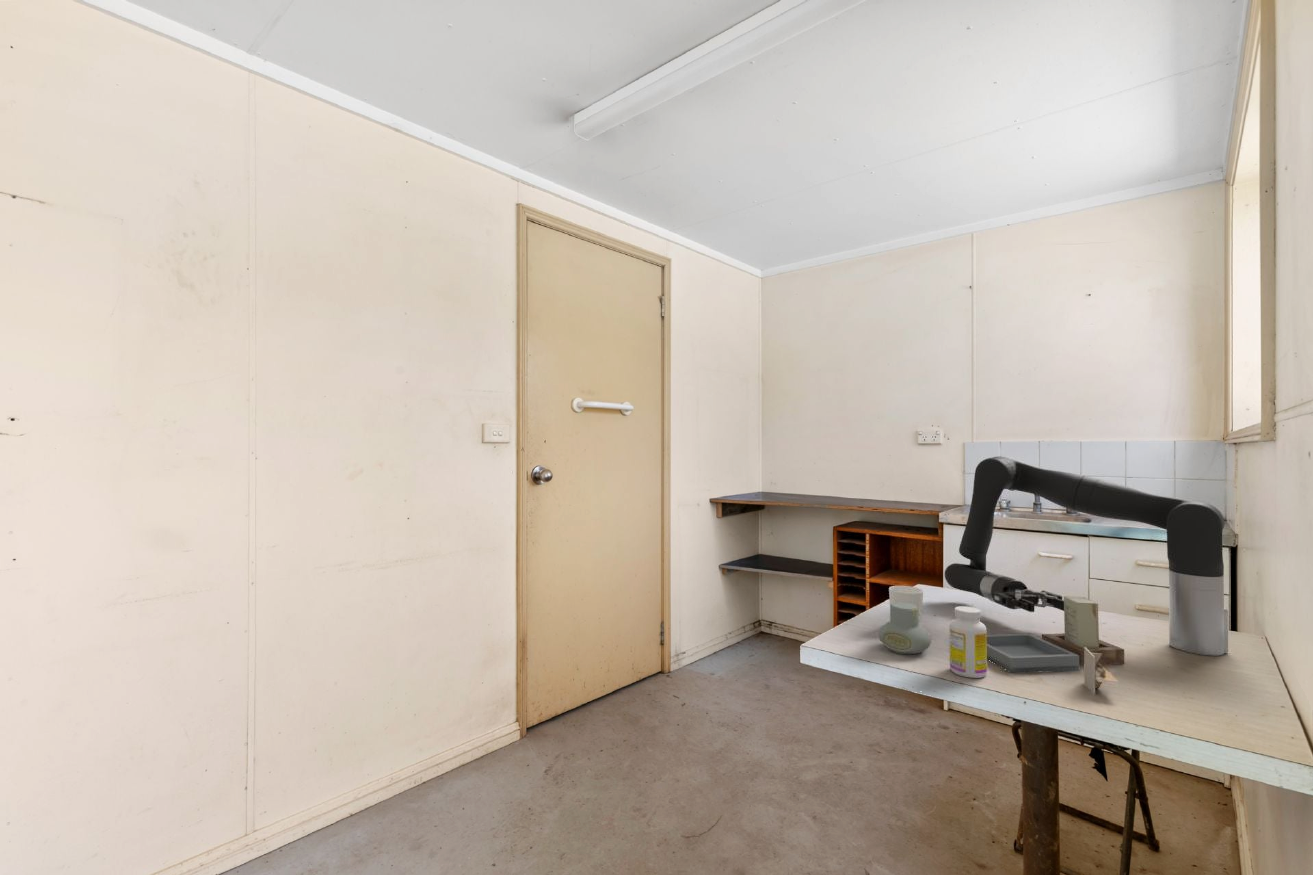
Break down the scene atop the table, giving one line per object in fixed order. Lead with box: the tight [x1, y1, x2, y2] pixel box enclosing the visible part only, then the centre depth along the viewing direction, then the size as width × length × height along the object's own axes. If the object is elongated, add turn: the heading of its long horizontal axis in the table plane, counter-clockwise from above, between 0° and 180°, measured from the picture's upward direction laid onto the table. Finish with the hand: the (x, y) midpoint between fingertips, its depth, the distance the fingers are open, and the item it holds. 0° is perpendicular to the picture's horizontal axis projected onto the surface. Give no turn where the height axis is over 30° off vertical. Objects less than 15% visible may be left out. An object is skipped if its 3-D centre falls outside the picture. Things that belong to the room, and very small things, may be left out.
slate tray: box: [987, 633, 1080, 674], centre depth 128 cm, size 15×14×3 cm
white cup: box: [888, 585, 924, 626], centre depth 149 cm, size 8×8×10 cm
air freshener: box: [878, 602, 932, 655], centre depth 134 cm, size 11×8×10 cm
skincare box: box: [1063, 595, 1100, 648], centre depth 131 cm, size 6×4×12 cm
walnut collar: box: [1041, 632, 1125, 666], centre depth 131 cm, size 10×11×3 cm
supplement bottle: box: [949, 605, 988, 679], centre depth 121 cm, size 7×7×13 cm
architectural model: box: [1083, 647, 1119, 695], centre depth 112 cm, size 3×7×8 cm, turn 159°
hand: (1050, 607), depth 140 cm, fingers open, 8 cm apart
